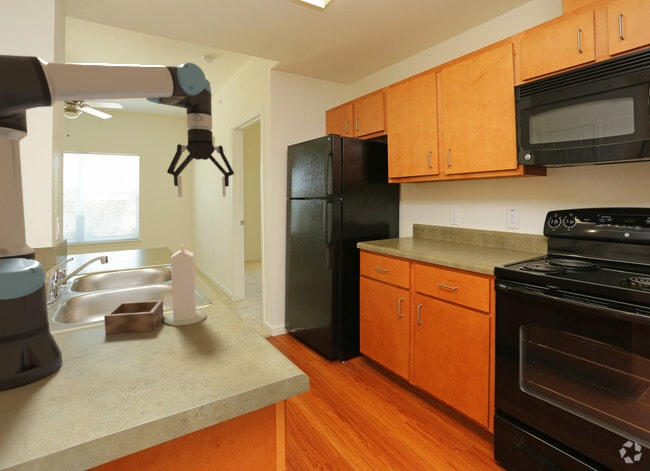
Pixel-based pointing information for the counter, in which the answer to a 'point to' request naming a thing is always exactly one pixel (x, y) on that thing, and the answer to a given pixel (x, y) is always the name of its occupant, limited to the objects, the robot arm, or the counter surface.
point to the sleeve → (134, 317)
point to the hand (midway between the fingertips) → (202, 196)
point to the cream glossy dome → (198, 318)
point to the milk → (183, 285)
